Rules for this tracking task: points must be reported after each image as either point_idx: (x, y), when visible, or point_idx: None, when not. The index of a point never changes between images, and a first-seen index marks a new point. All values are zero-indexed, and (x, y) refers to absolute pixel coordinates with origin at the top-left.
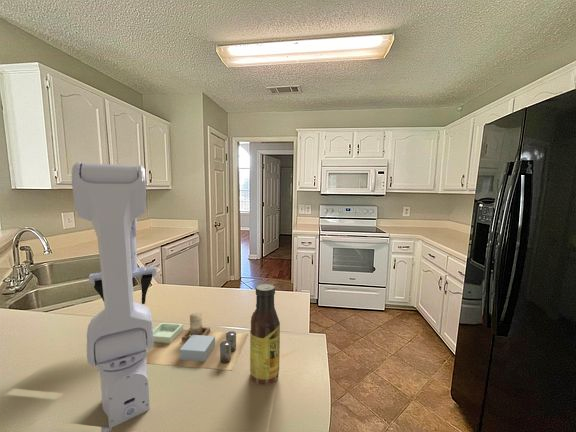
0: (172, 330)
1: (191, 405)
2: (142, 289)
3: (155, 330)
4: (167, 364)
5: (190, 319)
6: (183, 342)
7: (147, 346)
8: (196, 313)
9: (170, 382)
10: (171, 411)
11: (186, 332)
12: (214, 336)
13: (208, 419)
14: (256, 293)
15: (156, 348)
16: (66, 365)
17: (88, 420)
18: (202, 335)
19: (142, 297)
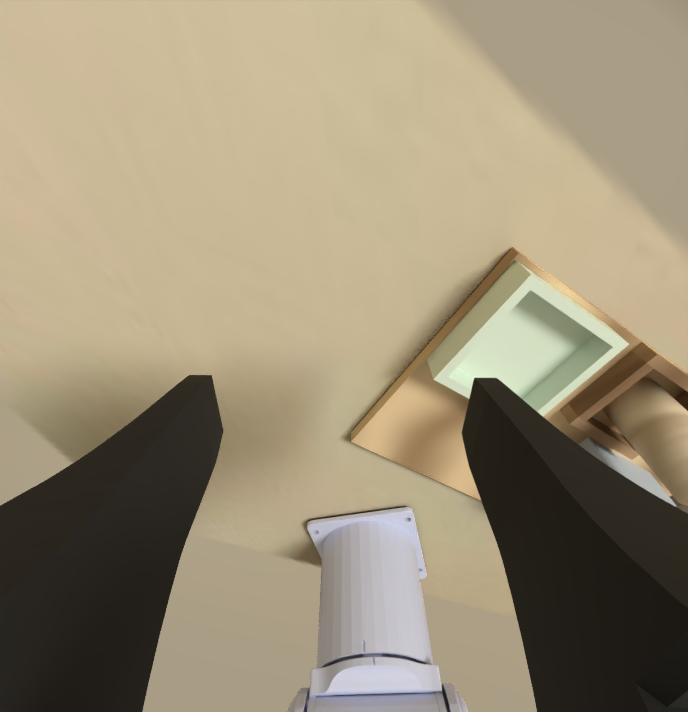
0: (559, 322)
1: (489, 581)
2: (521, 602)
3: (480, 338)
4: (475, 495)
5: (664, 481)
6: (563, 417)
7: (442, 688)
8: None
9: (466, 528)
10: (451, 580)
11: (605, 399)
12: (673, 505)
13: (505, 605)
14: None
15: (458, 413)
16: (135, 358)
17: (301, 552)
18: (641, 486)
19: (487, 501)
